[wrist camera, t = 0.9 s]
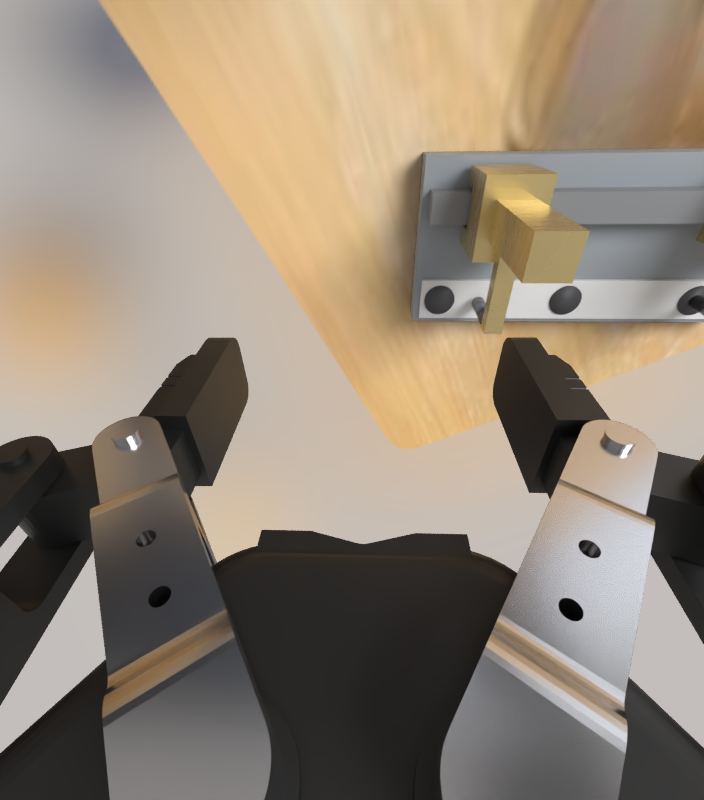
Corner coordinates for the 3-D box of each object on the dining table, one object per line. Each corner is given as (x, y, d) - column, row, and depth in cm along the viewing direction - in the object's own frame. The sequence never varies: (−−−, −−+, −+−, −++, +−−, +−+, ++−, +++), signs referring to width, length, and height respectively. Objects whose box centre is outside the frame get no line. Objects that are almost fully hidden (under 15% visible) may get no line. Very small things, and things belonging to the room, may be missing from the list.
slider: (471, 164, 26) (524, 199, 17) (533, 163, 26) (620, 198, 17) (450, 305, 32) (481, 387, 23) (500, 306, 32) (550, 388, 23)
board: (423, 152, 28) (428, 158, 25) (810, 146, 26) (861, 152, 24) (410, 310, 35) (413, 328, 32) (713, 311, 34) (743, 330, 31)
